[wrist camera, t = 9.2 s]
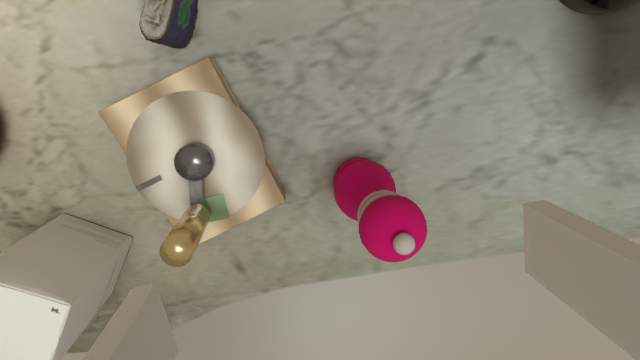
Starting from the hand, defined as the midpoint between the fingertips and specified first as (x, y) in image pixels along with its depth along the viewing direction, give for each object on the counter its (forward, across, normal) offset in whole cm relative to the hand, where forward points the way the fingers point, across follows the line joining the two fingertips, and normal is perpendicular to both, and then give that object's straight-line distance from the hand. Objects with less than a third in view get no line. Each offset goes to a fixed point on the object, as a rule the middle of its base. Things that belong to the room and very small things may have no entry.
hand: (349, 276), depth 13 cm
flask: (+35, -10, +16) cm, 40 cm away
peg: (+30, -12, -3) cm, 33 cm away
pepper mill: (+35, +6, -8) cm, 36 cm away
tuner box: (+35, -12, 0) cm, 37 cm away
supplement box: (+35, -29, -10) cm, 47 cm away
